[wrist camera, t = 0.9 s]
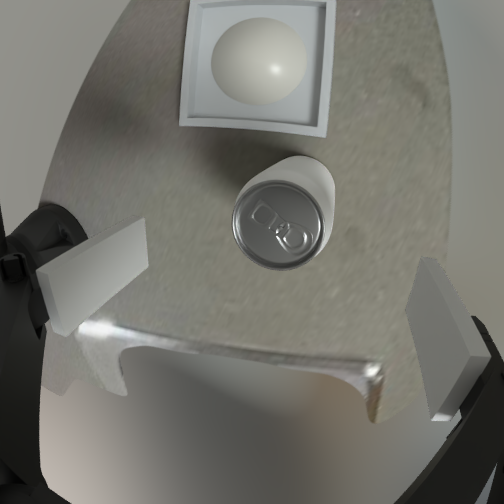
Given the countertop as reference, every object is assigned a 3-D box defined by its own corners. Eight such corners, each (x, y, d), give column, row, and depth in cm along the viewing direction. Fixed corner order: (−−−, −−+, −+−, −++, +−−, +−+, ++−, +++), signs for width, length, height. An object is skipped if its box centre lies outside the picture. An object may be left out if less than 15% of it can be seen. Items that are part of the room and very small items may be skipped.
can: (307, 234, 30) (288, 296, 20) (254, 194, 30) (206, 234, 20) (349, 183, 28) (355, 220, 17) (293, 141, 27) (263, 149, 17)
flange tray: (188, 125, 29) (179, 126, 27) (199, 4, 24) (190, -2, 22) (326, 137, 26) (325, 137, 25) (336, 4, 21) (335, -4, 19)
